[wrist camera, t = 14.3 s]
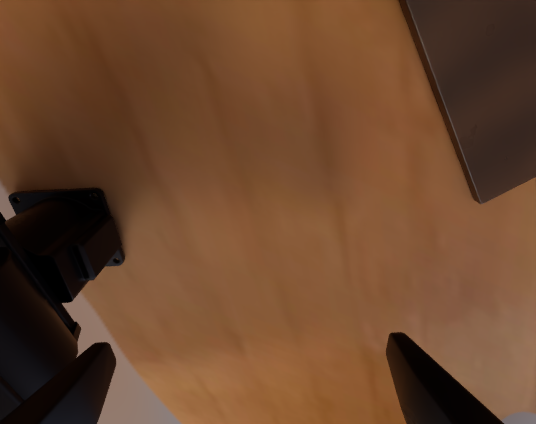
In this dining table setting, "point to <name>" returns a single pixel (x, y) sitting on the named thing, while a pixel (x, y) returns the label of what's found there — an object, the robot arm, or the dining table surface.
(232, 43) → the dining table surface
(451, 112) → the step shelf
